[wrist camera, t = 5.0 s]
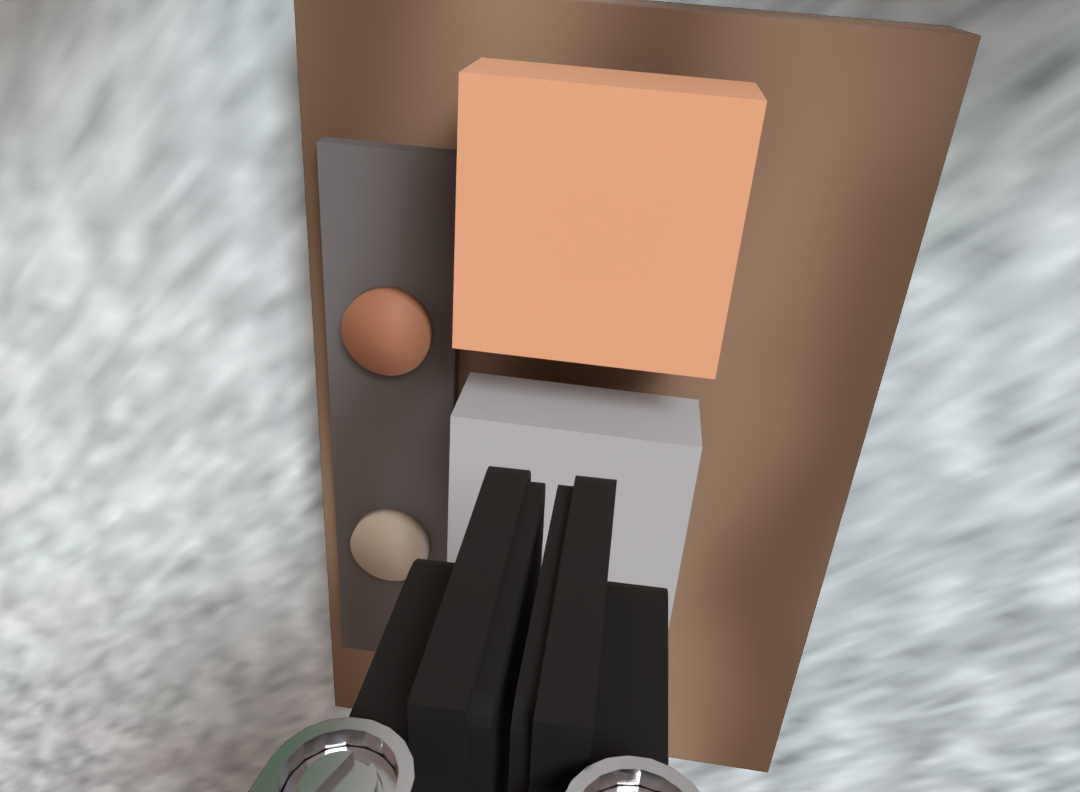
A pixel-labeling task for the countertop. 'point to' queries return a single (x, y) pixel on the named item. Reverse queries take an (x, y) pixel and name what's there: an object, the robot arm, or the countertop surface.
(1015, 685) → the countertop surface
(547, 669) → the robot arm
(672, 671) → the keypad board
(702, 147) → the terracotta key
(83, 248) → the countertop surface
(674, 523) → the grey key
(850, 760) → the countertop surface
